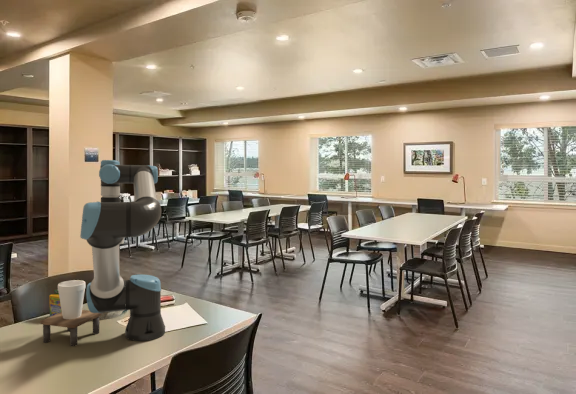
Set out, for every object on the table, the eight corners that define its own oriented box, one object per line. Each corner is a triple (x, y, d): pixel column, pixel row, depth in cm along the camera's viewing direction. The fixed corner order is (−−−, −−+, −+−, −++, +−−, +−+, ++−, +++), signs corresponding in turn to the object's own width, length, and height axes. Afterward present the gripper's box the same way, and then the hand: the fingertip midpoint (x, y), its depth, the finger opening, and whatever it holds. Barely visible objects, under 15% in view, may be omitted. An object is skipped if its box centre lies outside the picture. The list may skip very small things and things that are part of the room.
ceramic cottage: (99, 320, 179) (100, 286, 179) (85, 312, 190) (86, 280, 190) (134, 315, 190) (135, 282, 190) (119, 307, 201) (120, 276, 201)
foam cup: (73, 321, 155) (73, 287, 154) (52, 319, 157) (52, 285, 156) (90, 313, 164) (90, 281, 164) (70, 311, 166) (70, 279, 165)
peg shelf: (101, 332, 167) (101, 312, 166) (74, 347, 152) (74, 325, 152) (70, 328, 170) (70, 308, 170) (40, 342, 155) (40, 320, 155)
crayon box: (49, 317, 182) (48, 291, 182) (54, 314, 185) (54, 289, 185) (62, 319, 180) (62, 292, 180) (67, 316, 183) (67, 291, 182)
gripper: (121, 194, 189) (121, 241, 190) (81, 197, 164) (82, 250, 166) (135, 195, 187) (135, 242, 188) (97, 198, 163) (98, 251, 164)
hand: (110, 246), depth 177 cm, fingers open, 13 cm apart
